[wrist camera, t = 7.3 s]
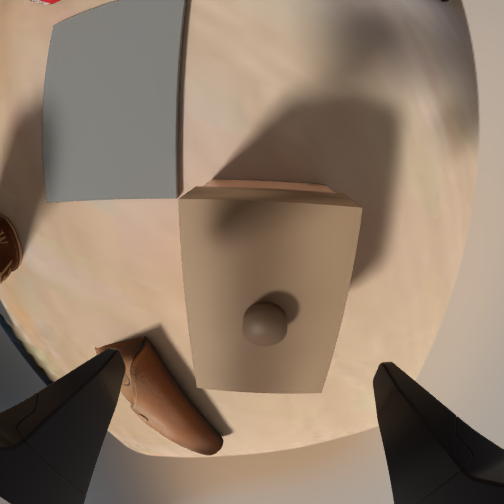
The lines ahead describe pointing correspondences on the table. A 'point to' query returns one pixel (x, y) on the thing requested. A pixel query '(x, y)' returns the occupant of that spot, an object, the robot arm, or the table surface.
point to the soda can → (45, 1)
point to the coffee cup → (8, 249)
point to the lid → (265, 284)
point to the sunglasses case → (162, 399)
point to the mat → (113, 103)
